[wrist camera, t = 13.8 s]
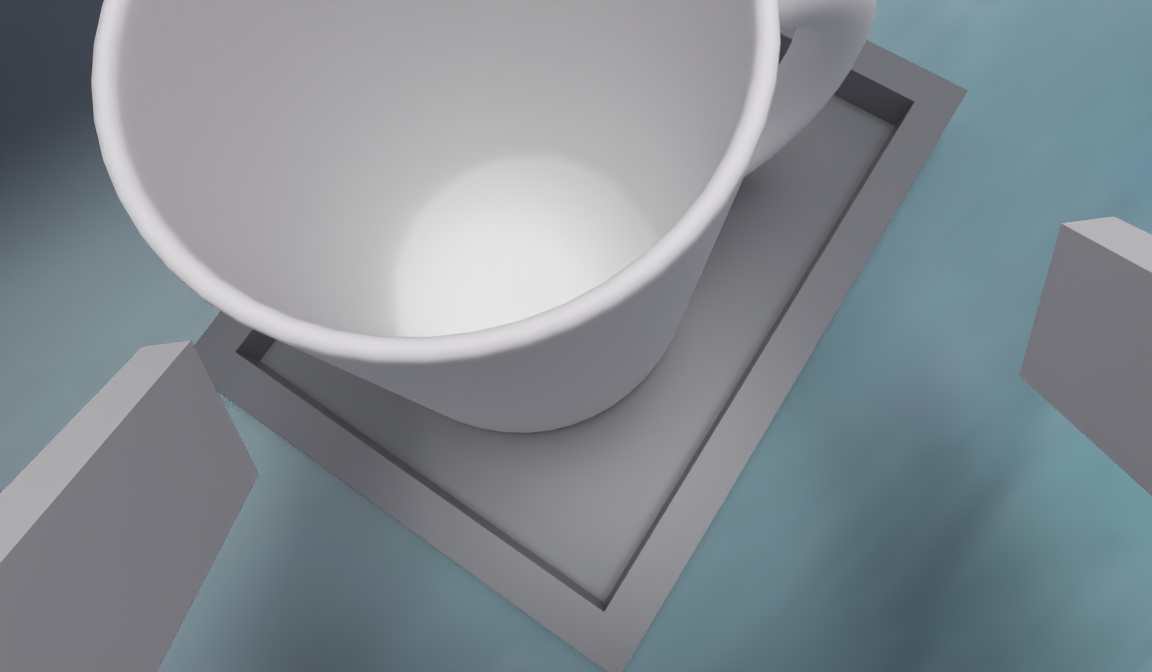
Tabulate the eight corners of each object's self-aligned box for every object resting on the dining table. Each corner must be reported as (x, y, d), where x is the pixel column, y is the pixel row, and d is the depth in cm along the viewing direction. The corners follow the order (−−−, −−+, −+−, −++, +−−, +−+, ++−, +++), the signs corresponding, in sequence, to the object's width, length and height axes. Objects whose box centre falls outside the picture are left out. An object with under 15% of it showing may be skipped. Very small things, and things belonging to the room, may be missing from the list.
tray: (225, 376, 18) (180, 363, 17) (559, -60, 21) (554, -116, 19) (616, 657, 16) (618, 680, 14) (931, 130, 19) (967, 90, 17)
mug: (717, 48, 19) (839, -434, 9) (864, 295, 17) (1218, 28, 7) (336, 217, 19) (15, -104, 8) (446, 491, 17) (203, 495, 7)
